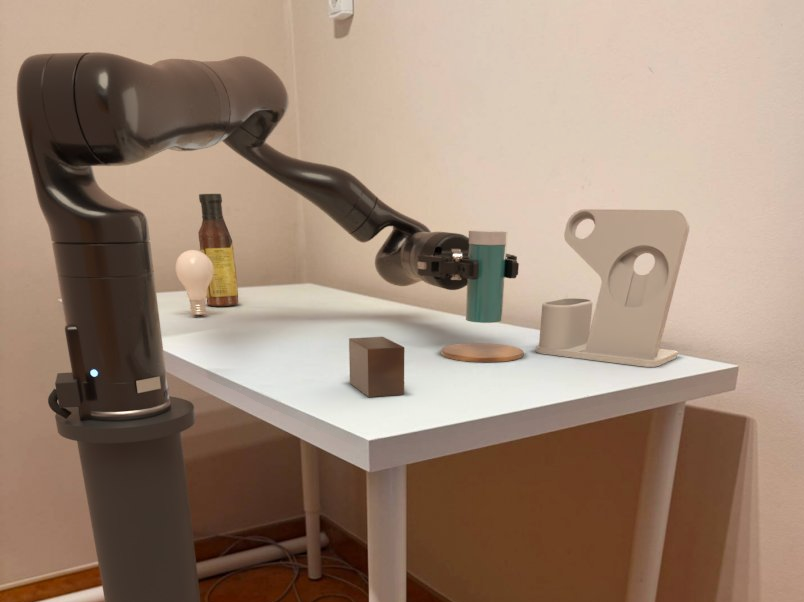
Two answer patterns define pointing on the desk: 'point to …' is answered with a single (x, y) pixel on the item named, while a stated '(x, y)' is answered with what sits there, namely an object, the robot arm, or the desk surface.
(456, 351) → the cork coaster
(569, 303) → the phone holder
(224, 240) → the sauce bottle
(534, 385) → the desk surface
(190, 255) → the lightbulb
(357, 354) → the walnut block
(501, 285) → the salt shaker
